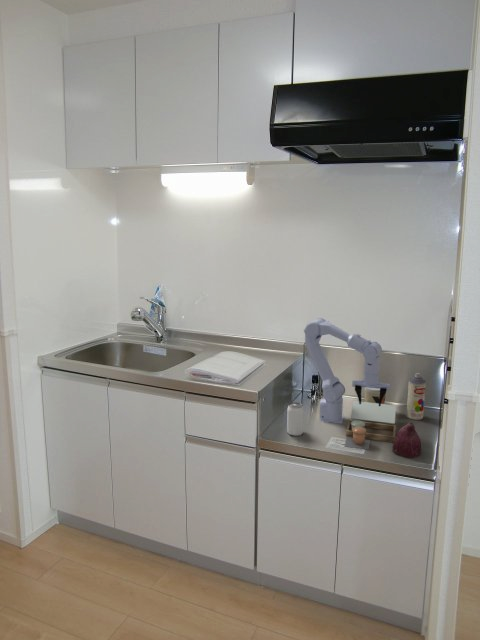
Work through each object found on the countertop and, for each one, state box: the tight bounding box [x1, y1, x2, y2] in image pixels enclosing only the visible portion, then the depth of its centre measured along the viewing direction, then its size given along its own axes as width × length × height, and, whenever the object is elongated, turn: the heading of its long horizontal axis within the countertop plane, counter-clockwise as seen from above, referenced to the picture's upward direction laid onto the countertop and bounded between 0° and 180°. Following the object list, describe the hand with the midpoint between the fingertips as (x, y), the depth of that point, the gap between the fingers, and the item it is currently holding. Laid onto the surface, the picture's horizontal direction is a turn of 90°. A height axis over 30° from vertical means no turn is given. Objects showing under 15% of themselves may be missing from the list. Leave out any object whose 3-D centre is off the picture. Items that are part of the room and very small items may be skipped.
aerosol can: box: [406, 372, 427, 421], centre depth 212 cm, size 7×7×20 cm
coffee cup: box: [363, 387, 386, 404], centre depth 219 cm, size 9×9×12 cm
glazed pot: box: [351, 420, 365, 428], centre depth 199 cm, size 5×5×4 cm
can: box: [286, 401, 305, 437], centre depth 200 cm, size 6×6×12 cm
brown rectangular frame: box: [345, 419, 397, 443], centre depth 203 cm, size 19×20×5 cm
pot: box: [352, 426, 366, 445], centre depth 191 cm, size 5×5×6 cm
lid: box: [350, 400, 397, 425], centre depth 208 cm, size 18×10×1 cm, turn 71°
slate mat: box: [344, 436, 371, 451], centre depth 191 cm, size 9×8×1 cm
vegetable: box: [392, 421, 422, 459], centre depth 182 cm, size 10×10×15 cm
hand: (369, 404), depth 203 cm, fingers open, 7 cm apart
